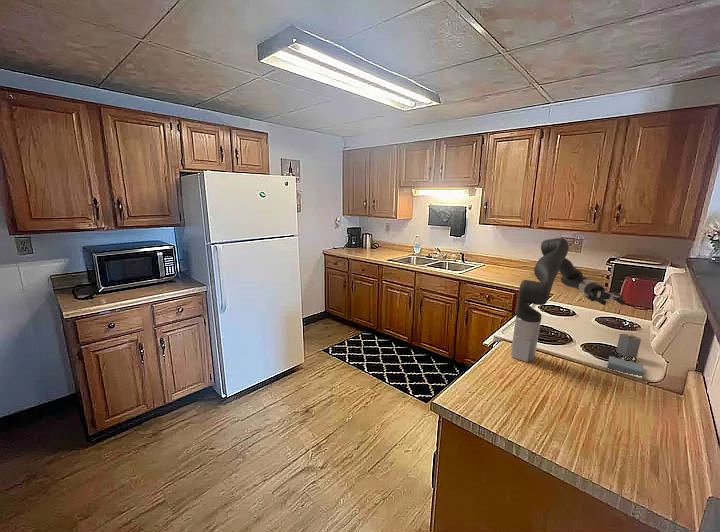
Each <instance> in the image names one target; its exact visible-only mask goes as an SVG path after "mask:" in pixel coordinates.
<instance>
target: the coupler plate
mask: <svg viewBox="0 0 720 532" xmlns="http://www.w3.org/2000/svg"><path fill="white" fill-rule="evenodd" d="M608 360H609V361H608V362H607V366H606V367H607V368H609V369H612V370H617V371H620V372H623V373H628V374H633V375H638V376H642V377H643V378H644V377H645V371H644V364H640V363H638V362H635V361H626V360H623V359H621V358H620V357H615V356H611V355H609V356H608ZM607 368H606V369H607Z"/></svg>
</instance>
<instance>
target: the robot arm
mask: <svg viewBox="0 0 720 532" xmlns="http://www.w3.org/2000/svg"><path fill="white" fill-rule="evenodd" d="M540 250H541V254H542V255H543V256H541V257H540V258H539V259H538V260H537V262H536V264H535V266H534V269H533V273H534V276H535V278H537V280H538V281H536V280H535V281H534V280H529V279H524V280H522V281H521V283H520V285H519V288H518V289H519V290H518V297H517V298H518V299H517V308H516V315H515V323H514V328H513V329H514V330H513V337H512V340H511V341H512V342H511V348H510V349H511V351H510V355H511V358H513V359H516V360H519V361H522V362H525V363H528V362H533V361H534V360H535V359H536V353H537V346H538V341H539V340H538V339H539V335H540V334H539V333H540V328H541V322H542V314H541V312H539V311H538V310H537V309H535V308H533V307H532V306H531V305H530V304H532V305H538V306H544V305H546V304H547V303H548V301H549V298H550V295H551V290H552V288H553V285H554V282H555V280H556V277H557V276H558V272H559V273H560V274H561V277H560V281H561V283H562V284H563V285H565V286H567V287H570V288H574V289H577V290H578V291H580V292H582V294H584V296H585V298H586V299H588V300H589V301H591V302H596V303H599V304H601V305H602V306H606V304H607V301H610V302H617V303H618V304H620V305H622V306H625V304H626V300H624V296H623V295H622V294H620V293H618V292H616V291H612V292H608V291H607V290H606V289H605V287H604V286H603V285H601V284H599V283H597V282H596V281H594V280H591V279H589V278H587V277H585V276H584V274H583V272H582V271H581V270H580V269H578V268H576V267H575V266H574V265H573V263H572V261H571V260H570V259H568V258H566V256H567V255H568V253H569V250H570V249H569V242H568V240H567V239H565V238H563V237H558V238H551V239H546V240H545V239H544V240H543V241H542V242H541V245H540Z"/></svg>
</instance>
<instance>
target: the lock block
mask: <svg viewBox="0 0 720 532" xmlns="http://www.w3.org/2000/svg"><path fill="white" fill-rule="evenodd" d="M641 340H642V338H640V337H637V336H635V334H631V333H619V337H618V341H617V346H616V350H615V351H616V352H617V353H619V354H621V355H623V356H625V357H634V358H637V357H638V354H639V349H640V345H641ZM616 352H615V353H616Z"/></svg>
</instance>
